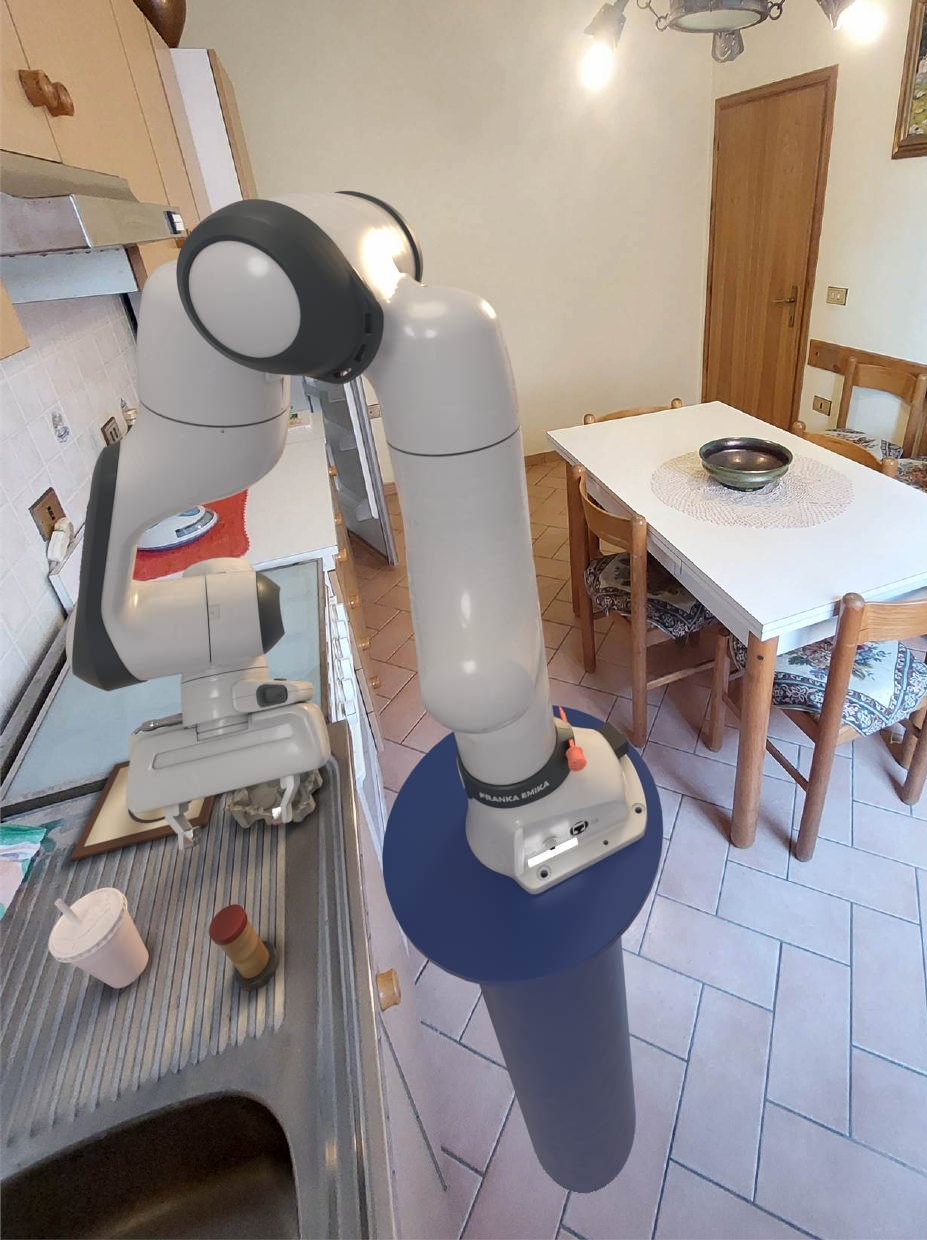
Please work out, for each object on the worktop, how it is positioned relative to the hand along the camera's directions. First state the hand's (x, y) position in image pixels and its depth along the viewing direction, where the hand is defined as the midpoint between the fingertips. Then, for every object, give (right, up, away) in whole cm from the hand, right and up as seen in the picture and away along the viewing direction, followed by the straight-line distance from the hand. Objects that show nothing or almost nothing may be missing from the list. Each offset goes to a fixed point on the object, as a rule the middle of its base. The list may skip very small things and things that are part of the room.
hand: (237, 835), depth 64 cm
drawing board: (-21, -5, +18) cm, 28 cm away
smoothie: (-12, -14, 0) cm, 18 cm away
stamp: (+3, -13, -1) cm, 14 cm away
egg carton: (-3, -5, +16) cm, 17 cm away
